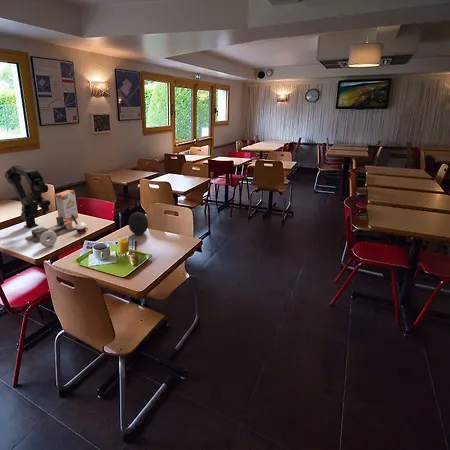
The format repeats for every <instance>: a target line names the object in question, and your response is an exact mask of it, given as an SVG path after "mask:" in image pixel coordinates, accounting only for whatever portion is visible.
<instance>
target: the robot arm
mask: <svg viewBox="0 0 450 450" xmlns="http://www.w3.org/2000/svg"><path fill="white" fill-rule="evenodd" d="M22 176H23V177H24V179H25V180H27V184H28V186H29V190H30V191H29V195H27V193H26V192H25V189H24V187H23V185H22ZM4 178H5V180H6V181H7V182H8V183H9V184H10V185H11V186H13V188H14V192H15V193H16V195H17V198H18V199H19V202H20V204H21V213H20V219H22V220H24V222H25V225H24V227H25V228H28V229H31V228H34V227H38V226H39V224H37V223H36V219H35V218H38V213H39V212H38V211H39V208H40V209H41V212H42V214H43V216H46V214H47V211H48V209H49V206H50V205H51V201H50V200H49V199H45V198H44V197H43V195H42V194H45V193H47V192H49V186H48V185H47V184H46V183H45V180H44V178H43V176H42V175H41V174H40V172H39V171H38V170H36V169H28V168H25V167H24V166H23V167H22V166H21V165H13V166H11V167H10V168H9V169H8V170H6V171H5V173H4Z"/></svg>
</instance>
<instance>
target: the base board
mask: <svg viewBox="0 0 450 450" xmlns="http://www.w3.org/2000/svg"><path fill="white" fill-rule="evenodd" d="M30 231H31V235H29V236H25V240H27V241H31V242H32V243H35V244H38V243H40V236H41V234H42V233H43V232H45V231H48V228H46V227H45V226H40V227H37V228H34V229H31V230H30ZM74 231H76V228H75V227H74V226H72V228H70V229H66V228H63V229H60V230H57V231H54V232H55V233H56V235H57V237H58V236H61V235H65V234H68V233H70V232H74ZM50 239H51V237H50V236H48V237H47V238H46V241H48V240H50Z"/></svg>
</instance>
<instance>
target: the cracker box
mask: <svg viewBox="0 0 450 450" xmlns="http://www.w3.org/2000/svg"><path fill="white" fill-rule="evenodd" d="M54 197H55V203H56V210H57V215H58V216H57V217H59V216H61V217H63V220H68V221H71V222H72V221H74V219H73V217H72V216H71V215H72V214H73V215H74V217H75V219H77V218H79V213H78V206H77V200H76V199H77V197H76V192H75V190H74V189H72V190H71V189H70V190H69V189H67V190H64V191H62V192H58V193H55V194H54Z"/></svg>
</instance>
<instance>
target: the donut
mask: <svg viewBox="0 0 450 450" xmlns="http://www.w3.org/2000/svg"><path fill="white" fill-rule="evenodd" d="M48 236H50V237H51V238H50V239H48V240H46V238H47V237H48ZM57 241H58V236H57V235H56V233H55V232H53V231H50V230H48V231H45V232H43V233H42V234H41V236H40V242H39V243H40V244H41V245H42V247H46V248H49V247H52V246H54V245H55V244H56V243H57Z"/></svg>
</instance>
